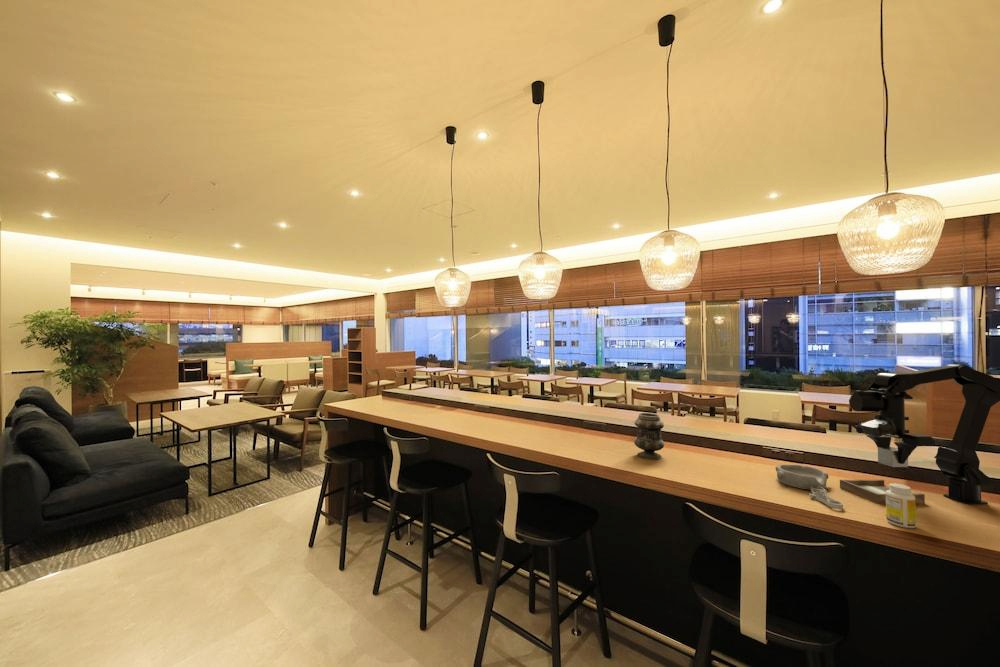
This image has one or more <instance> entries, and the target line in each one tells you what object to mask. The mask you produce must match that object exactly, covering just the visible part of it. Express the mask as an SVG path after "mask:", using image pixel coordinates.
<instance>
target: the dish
mask: <svg viewBox="0 0 1000 667" xmlns="http://www.w3.org/2000/svg"><path fill="white" fill-rule="evenodd" d="M775 470H776V477H777V480H778V482H780V483H781V484H784V485H787V486H790V487H794V488H798V489H802V490H803V489H804V490H810V486H812V488H815V489H816V488H817V486H819V487H822V488H824V489H825V488H826V486H827V482H828V481H827V480H828V479H829V473H828V472H826V471H824V470H822V469H819V468H816V467H812V466H808V465H801V464H779V466H778V465H777V466H775Z"/></svg>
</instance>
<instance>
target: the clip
mask: <svg viewBox="0 0 1000 667" xmlns="http://www.w3.org/2000/svg"><path fill="white" fill-rule="evenodd" d="M877 463H878V464H881V465H885V466H889V467H892V468H909V457H908V458H907V460H906V461H905V463H904V464H900V463H899V460H898V447H894V446H890V447H877Z"/></svg>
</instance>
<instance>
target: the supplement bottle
mask: <svg viewBox="0 0 1000 667" xmlns="http://www.w3.org/2000/svg"><path fill="white" fill-rule="evenodd" d="M889 488H890V490H887V491H886V504H885V514H886V516H885V518H886V520H887V522H889V523H890V524H891V525H893V526H897V527H899V528H900V527H901V528H906V529H915V528H916V527H917V506H916V499H915V496H913V495H912V494H913V493H912V488H911V487H910V486H908V485H905V484H901V483H895V482H893V483H889Z"/></svg>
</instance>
